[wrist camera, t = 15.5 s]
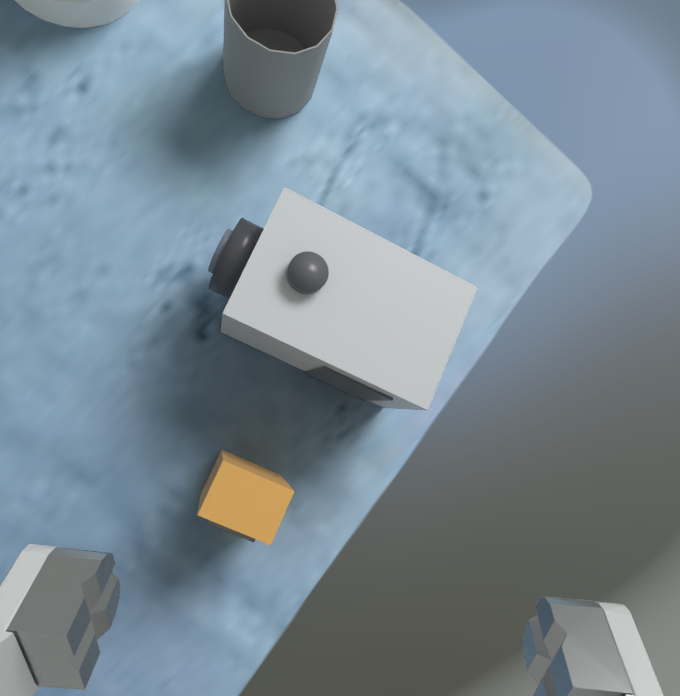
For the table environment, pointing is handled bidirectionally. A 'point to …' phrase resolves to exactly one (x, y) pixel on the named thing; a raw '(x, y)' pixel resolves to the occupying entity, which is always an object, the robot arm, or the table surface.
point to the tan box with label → (244, 498)
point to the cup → (275, 52)
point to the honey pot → (78, 11)
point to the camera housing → (340, 303)
